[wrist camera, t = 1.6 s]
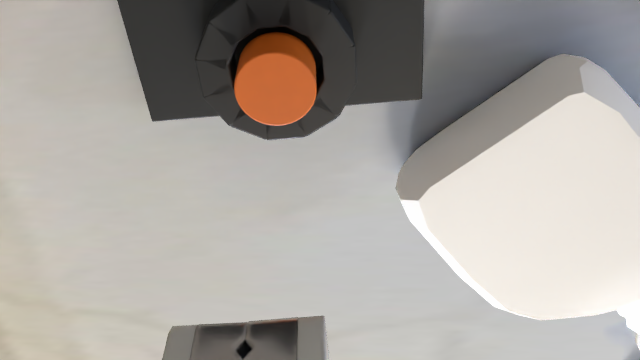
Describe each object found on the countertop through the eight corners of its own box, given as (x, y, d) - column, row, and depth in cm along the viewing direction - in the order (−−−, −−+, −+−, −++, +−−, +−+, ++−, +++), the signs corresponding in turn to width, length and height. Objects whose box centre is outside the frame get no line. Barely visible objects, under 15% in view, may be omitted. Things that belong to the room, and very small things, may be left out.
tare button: (232, 34, 21) (226, 55, 19) (312, 28, 21) (312, 48, 19) (245, 105, 22) (241, 129, 21) (318, 99, 22) (320, 123, 21)
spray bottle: (585, 21, 23) (770, 320, 35) (368, 172, 27) (598, 394, 39) (618, 53, 21) (804, 362, 33) (375, 212, 25) (618, 437, 37)
